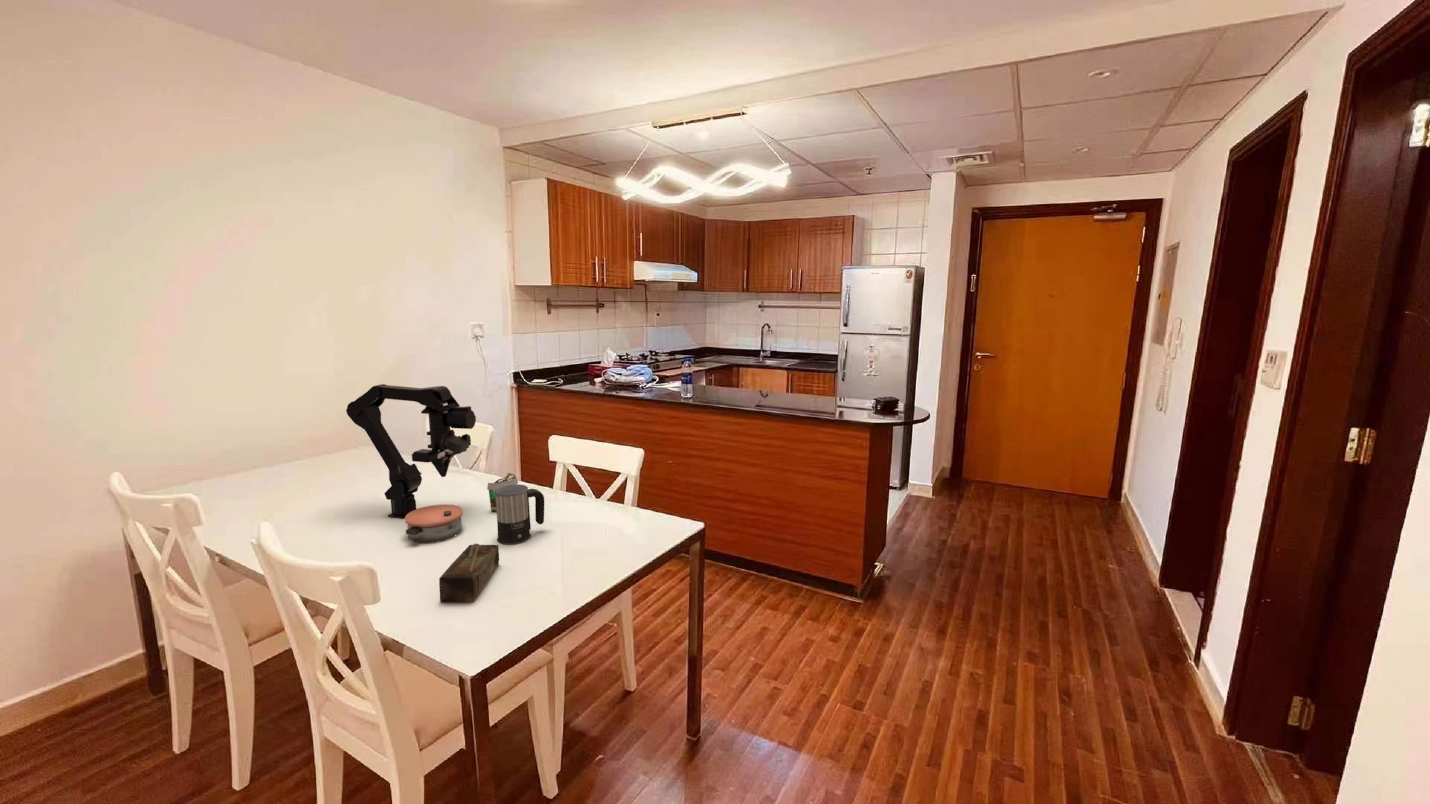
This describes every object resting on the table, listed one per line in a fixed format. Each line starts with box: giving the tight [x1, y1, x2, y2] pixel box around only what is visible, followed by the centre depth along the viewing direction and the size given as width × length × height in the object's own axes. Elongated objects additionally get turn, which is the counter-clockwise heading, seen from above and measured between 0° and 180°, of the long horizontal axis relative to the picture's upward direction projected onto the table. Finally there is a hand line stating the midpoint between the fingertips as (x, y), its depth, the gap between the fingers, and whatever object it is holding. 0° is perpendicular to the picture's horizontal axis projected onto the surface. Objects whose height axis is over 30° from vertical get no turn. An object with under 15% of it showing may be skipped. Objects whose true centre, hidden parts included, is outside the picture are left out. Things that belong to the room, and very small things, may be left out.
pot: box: [405, 516, 463, 544], centre depth 165 cm, size 14×19×5 cm
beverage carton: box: [438, 543, 500, 603], centre depth 137 cm, size 8×19×7 cm, turn 3°
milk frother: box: [494, 483, 545, 545], centre depth 165 cm, size 14×16×15 cm
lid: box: [404, 503, 464, 527], centre depth 165 cm, size 15×15×2 cm
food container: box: [486, 472, 519, 513], centre depth 186 cm, size 12×6×10 cm, turn 168°
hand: (443, 476), depth 176 cm, fingers closed
